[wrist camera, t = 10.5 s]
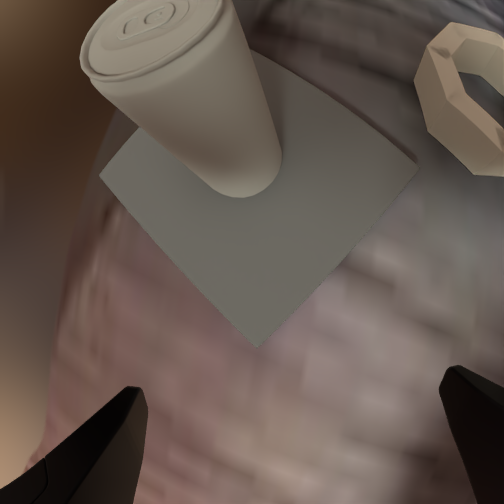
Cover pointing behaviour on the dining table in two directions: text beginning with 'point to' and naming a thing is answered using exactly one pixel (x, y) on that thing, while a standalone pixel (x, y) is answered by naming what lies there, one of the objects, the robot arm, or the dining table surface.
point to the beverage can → (188, 87)
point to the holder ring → (463, 95)
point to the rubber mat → (267, 205)
